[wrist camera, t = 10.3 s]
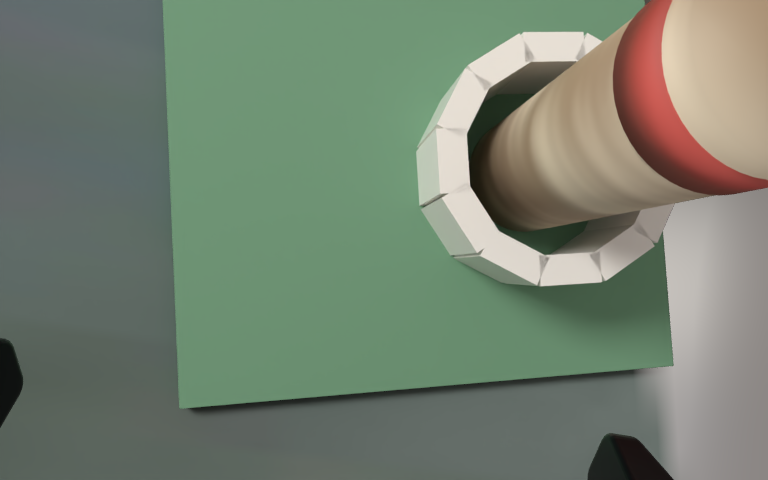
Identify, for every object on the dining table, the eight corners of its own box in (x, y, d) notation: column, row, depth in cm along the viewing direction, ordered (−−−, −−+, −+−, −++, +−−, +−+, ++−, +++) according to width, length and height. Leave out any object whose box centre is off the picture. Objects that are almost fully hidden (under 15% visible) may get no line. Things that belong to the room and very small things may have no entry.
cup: (631, 275, 22) (689, 276, 19) (424, 288, 21) (446, 292, 18) (615, 67, 23) (670, 31, 19) (411, 70, 22) (430, 32, 18)
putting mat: (665, 363, 23) (673, 365, 22) (182, 405, 20) (179, 408, 20) (624, -158, 24) (631, -167, 23) (158, -178, 21) (155, -189, 21)
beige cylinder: (556, 249, 22) (886, 215, 9) (451, 208, 21) (654, 115, 9) (591, 144, 22) (947, -19, 10) (488, 101, 22) (730, -126, 9)
